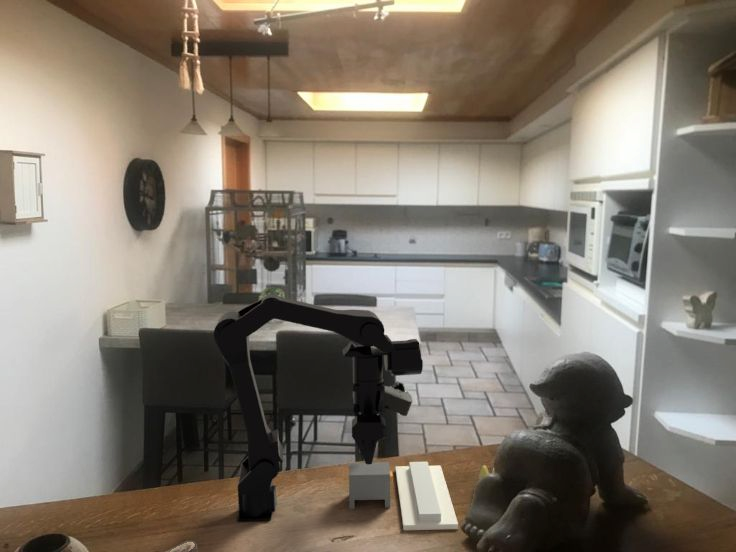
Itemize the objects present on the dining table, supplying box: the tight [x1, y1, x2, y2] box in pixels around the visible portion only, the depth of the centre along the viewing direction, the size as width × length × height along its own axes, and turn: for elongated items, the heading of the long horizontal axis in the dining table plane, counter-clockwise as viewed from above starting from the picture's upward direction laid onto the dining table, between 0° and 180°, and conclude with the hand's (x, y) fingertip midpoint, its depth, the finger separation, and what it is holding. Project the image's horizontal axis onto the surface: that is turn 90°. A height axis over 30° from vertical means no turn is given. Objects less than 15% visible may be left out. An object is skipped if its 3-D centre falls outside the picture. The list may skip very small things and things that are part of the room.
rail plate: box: [395, 461, 459, 531], centre depth 114 cm, size 10×22×2 cm, turn 1°
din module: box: [348, 461, 394, 510], centre depth 112 cm, size 9×5×7 cm, turn 91°
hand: (368, 452), depth 111 cm, fingers open, 9 cm apart
